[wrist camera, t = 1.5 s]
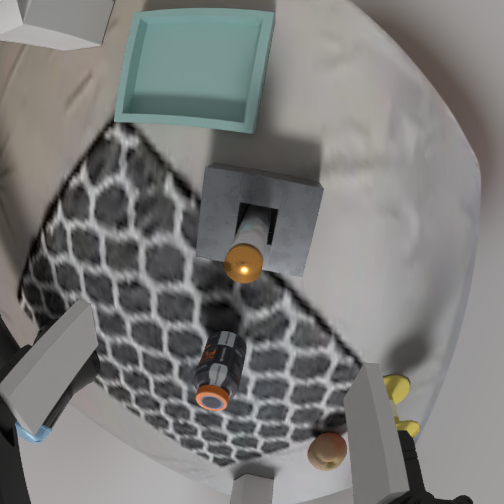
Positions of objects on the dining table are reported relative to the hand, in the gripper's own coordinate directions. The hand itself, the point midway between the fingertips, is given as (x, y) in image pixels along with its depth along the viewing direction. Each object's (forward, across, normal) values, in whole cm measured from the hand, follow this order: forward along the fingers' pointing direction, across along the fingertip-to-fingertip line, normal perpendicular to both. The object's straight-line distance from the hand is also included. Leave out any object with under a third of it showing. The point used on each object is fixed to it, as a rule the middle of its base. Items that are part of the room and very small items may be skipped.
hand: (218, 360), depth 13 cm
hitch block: (+24, 0, 0) cm, 24 cm away
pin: (+24, 0, 0) cm, 24 cm away
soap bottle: (+24, +12, -74) cm, 78 cm away
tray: (+24, -10, +16) cm, 30 cm away
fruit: (+24, +22, -43) cm, 53 cm away
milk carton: (+24, -28, +23) cm, 43 cm away
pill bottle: (+24, -1, -20) cm, 31 cm away
